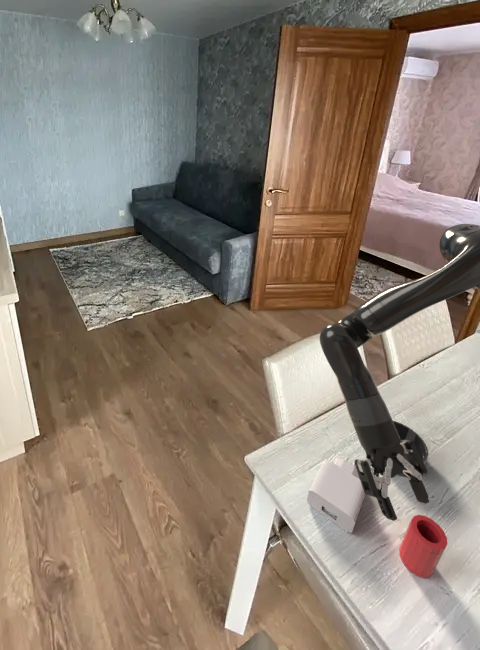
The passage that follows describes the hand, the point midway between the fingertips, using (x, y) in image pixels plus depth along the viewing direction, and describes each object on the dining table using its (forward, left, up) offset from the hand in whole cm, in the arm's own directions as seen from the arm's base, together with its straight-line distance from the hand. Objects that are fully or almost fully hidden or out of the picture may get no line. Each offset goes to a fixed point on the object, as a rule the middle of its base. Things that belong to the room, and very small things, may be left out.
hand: (408, 510), depth 66 cm
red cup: (-2, +3, -9) cm, 10 cm away
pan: (-7, -20, -9) cm, 23 cm away
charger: (+9, -8, -9) cm, 15 cm away
